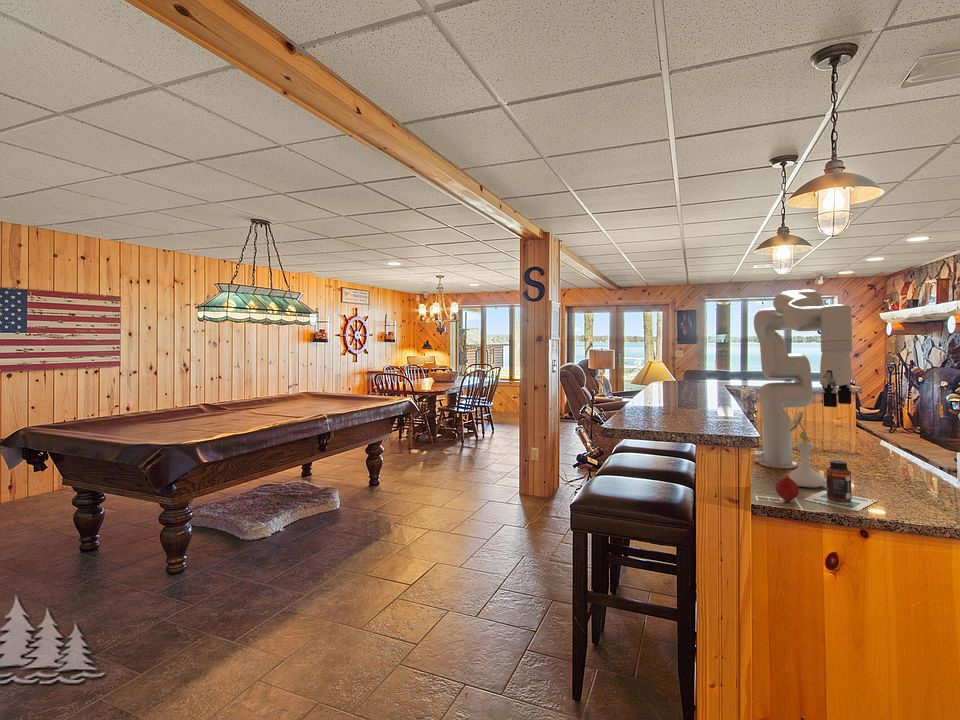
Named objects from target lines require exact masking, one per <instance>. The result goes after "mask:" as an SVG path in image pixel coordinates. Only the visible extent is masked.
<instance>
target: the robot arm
mask: <svg viewBox="0 0 960 720" xmlns="http://www.w3.org/2000/svg"><path fill="white" fill-rule="evenodd" d="M772 306H773V307H770V308H769V307H768V308H764V309H760V310H758V311H757V312H756V313H755V315H754V317H753V327H754V332H755V334H756V337H757V340H758V342H759V348H760V363H761V365H760V366H761V372H762V375H763V377H765V378H766V379H769V380H773V379H774V380H782V379H783V380H785V379H786V380H788V379H789V380H790V379H791V380H793V381H792V382H785V381H782V382H779V381H778V382H768V383H765V384H763V385H761V386H760V388H759V392H758V396H759V400H760V406H761V416H762V418H761V419H762V443H763V444H762V445H763V446H762V449H763V450H762V451H758V450H757V451H756V450H753V451H754V452H753V457H755V458H760V459H759V461H758V464H759V465H761V466H764V467H767V468H773V469H795V468H798V462H796V461H794V460H793V434H792V433H793V431H792V432H789V430H790V429H789V430H788V428H789V427H790V426H791V425H790V423H791V422H792V418H791V416H790V415H789V413H787V412H786V410H785V409H786V408H806V407H807V408H808V407H809V406H810V405H811V404H812V402H813V396H814V395H813V384H812V383H813V379H812V369H811V363H810V361H809V358H808V357H807V356H806V355H805V354H803V353H787V346H786V341H785V339H784V338H783V336H782V335H781V334H779V332H777V331H791V330H792V331H797V332H819V331H820V352H821V355H820V367H819V384H820V386H821V387H822V394H823V407H825V408H837V407H838V404H839V405H840V404H842V405H844V404H845V405H851V404H852V386H851V385H852V383H853V382H852V379H853V376H852V374H853V373H852V372H853V371H852V360H851V354H850V353H852V352H853V321H852V320H853V315H852V314H853V313H852V312H853V311H852V308H851V306H850V305H849V304H829V305H828V304H827V305H823V298H822V295H821V294H820V293H819V292H818V291H816V290H814V289H801V290H800V289H798V290H786V291H782V292H780V293H779V294H776V296H775V297H774V298H773V302H772ZM837 388H838V389H837Z"/></svg>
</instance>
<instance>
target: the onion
mask: <svg viewBox="0 0 960 720" xmlns="http://www.w3.org/2000/svg"><path fill="white" fill-rule="evenodd" d="M775 491H776V493H777V495H778V496H779V497H780V498H781V499H782V500H784V501H785V502H786V501H787V503H789V502H792V500H794V499H795V498H797V497H798V495H799V493H800V488H799V486H798V485H797V484H796V483H795V482H794V481H793V480H792V479H790V478H789V475H788V474H786V475H785V476H784V477H782V478H780V479H779V481H778V482H777V483H776V486H775Z"/></svg>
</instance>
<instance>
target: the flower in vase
mask: <svg viewBox="0 0 960 720" xmlns="http://www.w3.org/2000/svg"><path fill="white" fill-rule="evenodd" d="M803 418H804V411H803V410H801V411H800V410H798V412H797V414H795V415H793V419H792V420H791V423H790V425H791V426H790V427H789V428H788V430H789V429H790V430H789V432H792V433H793V431H794V430H796V428H797V427H798V426H800V428H801V429H802V431H801V433H799V437H800V438H801V439H802V441H801V442H796V443H795V445H796V446H797V447H798V450H799V453H800V465H799V466H797V467H796V469H794V470H793V471H791V472H789V473H788V474H787V475H789V478H790V479H792V480H793V481H794V482H795V483H796V484H797V485H798V487H801V488H802V487H803V488H821V487H824V486H827V479H826V478H825V477H824V476H823V475H821V474H820V473H818V472H817V471H816V470H815V469H814V468H813V467H812V466H811V464H810V455H811V454H810V452H811V450H812V448H813V447H814V446H815V444H814V443H812V442H807V440H809V437H808V436H807V433H806V431H805V429H804V427H803V425H802V423H801V421H802V419H803Z"/></svg>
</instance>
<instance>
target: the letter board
mask: <svg viewBox="0 0 960 720" xmlns="http://www.w3.org/2000/svg"><path fill="white" fill-rule="evenodd" d="M805 500H806V501H807V502H810V501H812V502H811V503H815V502H816V504H819V503H821V504H820V505H824V504H825V505H824V506H829V505H830V506H831V507H834V506H835V508H838V507H839V509H844V510H849V511H852V512H853V511H854V512H857V511H858V512H860V511H862V510H864V509H866V508H868V507H870V506H872V505H874V504H875V503H874V502H876V503H878V502H877V501H878V500H875V499H871V498H865V497H861V496H855V495H852V499H851V501H849V502H838V501H833V500H830V499H828V497H827V490H821V491H819V492H817V493H814V494H812V495H810V496H808V497H805V498H802V501H805ZM872 500H873V501H874V502H872ZM806 501H805V502H806ZM867 501H868V502H867ZM870 501H871V502H870ZM873 503H874V504H873ZM871 504H872V505H871ZM869 505H870V506H869ZM867 506H868V507H867ZM865 507H866V508H865ZM863 508H864V509H863Z"/></svg>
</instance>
